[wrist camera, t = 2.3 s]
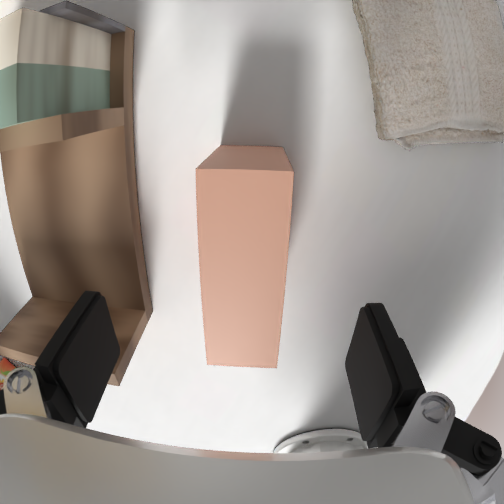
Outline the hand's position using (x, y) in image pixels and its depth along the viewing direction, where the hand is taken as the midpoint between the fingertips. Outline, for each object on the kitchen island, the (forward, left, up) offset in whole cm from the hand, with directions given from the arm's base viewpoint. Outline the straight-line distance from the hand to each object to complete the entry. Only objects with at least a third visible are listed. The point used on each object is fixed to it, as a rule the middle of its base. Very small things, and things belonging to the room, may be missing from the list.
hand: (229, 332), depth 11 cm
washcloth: (-12, -15, -13) cm, 23 cm away
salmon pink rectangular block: (0, +1, -12) cm, 12 cm away
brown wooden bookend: (+14, -2, -12) cm, 18 cm away
